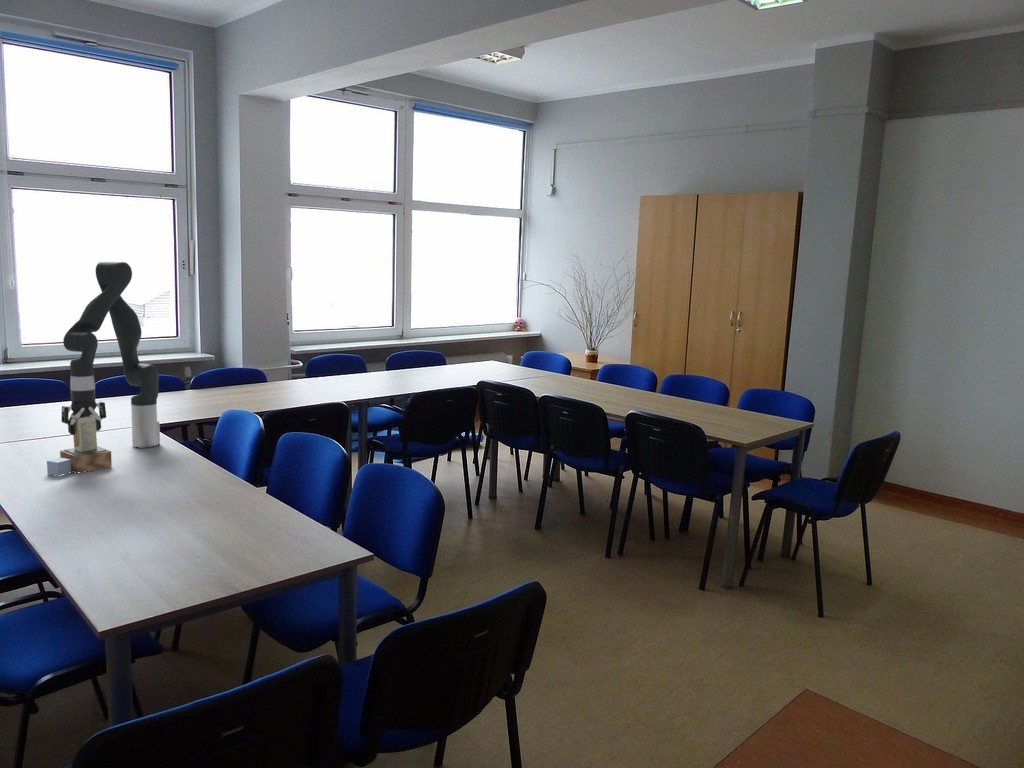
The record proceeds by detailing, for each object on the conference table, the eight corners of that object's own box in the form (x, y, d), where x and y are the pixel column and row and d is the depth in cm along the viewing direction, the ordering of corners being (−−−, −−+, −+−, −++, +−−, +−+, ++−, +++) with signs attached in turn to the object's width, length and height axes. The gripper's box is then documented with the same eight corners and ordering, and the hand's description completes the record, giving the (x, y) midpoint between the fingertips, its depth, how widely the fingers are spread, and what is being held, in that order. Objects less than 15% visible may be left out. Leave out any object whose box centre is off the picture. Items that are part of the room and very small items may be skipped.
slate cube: (60, 471, 265) (59, 457, 264) (71, 473, 264) (70, 459, 263) (47, 474, 261) (46, 460, 260) (58, 476, 259) (57, 462, 258)
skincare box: (91, 447, 274) (89, 414, 272) (97, 449, 272) (96, 416, 270) (73, 450, 269) (71, 416, 267) (79, 452, 266) (78, 418, 264)
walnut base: (95, 460, 280) (94, 444, 278) (111, 467, 273) (111, 449, 272) (60, 467, 270) (59, 449, 269) (77, 473, 263) (76, 455, 262)
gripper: (98, 384, 274) (100, 427, 277) (56, 388, 263) (58, 434, 266) (108, 387, 270) (110, 431, 273) (66, 391, 259) (69, 437, 261)
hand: (85, 432), depth 269 cm, fingers open, 8 cm apart
